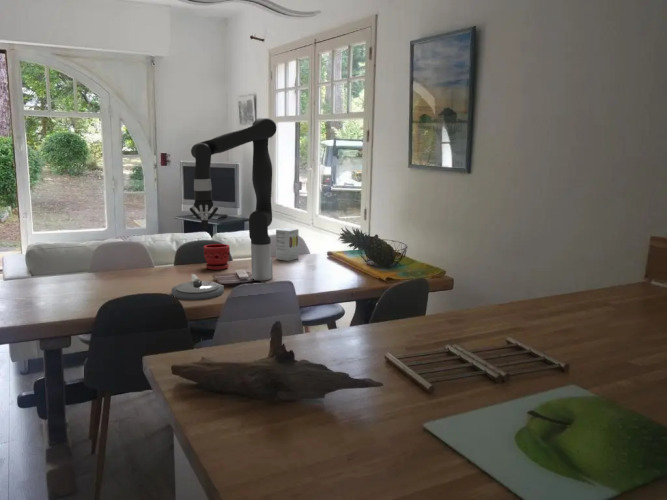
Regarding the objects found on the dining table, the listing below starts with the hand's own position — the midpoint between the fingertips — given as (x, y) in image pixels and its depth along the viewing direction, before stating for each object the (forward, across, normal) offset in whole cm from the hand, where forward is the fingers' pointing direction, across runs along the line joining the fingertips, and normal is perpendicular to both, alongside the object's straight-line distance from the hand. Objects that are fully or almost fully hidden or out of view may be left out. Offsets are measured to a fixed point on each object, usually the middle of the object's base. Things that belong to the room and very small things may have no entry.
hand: (204, 228), depth 255 cm
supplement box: (+27, -43, -54) cm, 74 cm away
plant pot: (+27, -4, -37) cm, 46 cm away
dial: (+24, +4, +10) cm, 27 cm away
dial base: (+27, +4, +11) cm, 29 cm away
